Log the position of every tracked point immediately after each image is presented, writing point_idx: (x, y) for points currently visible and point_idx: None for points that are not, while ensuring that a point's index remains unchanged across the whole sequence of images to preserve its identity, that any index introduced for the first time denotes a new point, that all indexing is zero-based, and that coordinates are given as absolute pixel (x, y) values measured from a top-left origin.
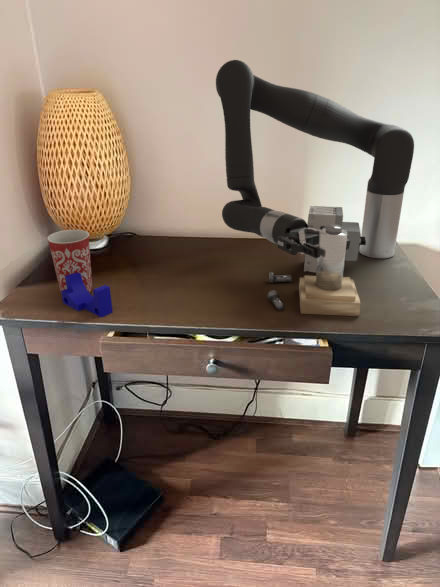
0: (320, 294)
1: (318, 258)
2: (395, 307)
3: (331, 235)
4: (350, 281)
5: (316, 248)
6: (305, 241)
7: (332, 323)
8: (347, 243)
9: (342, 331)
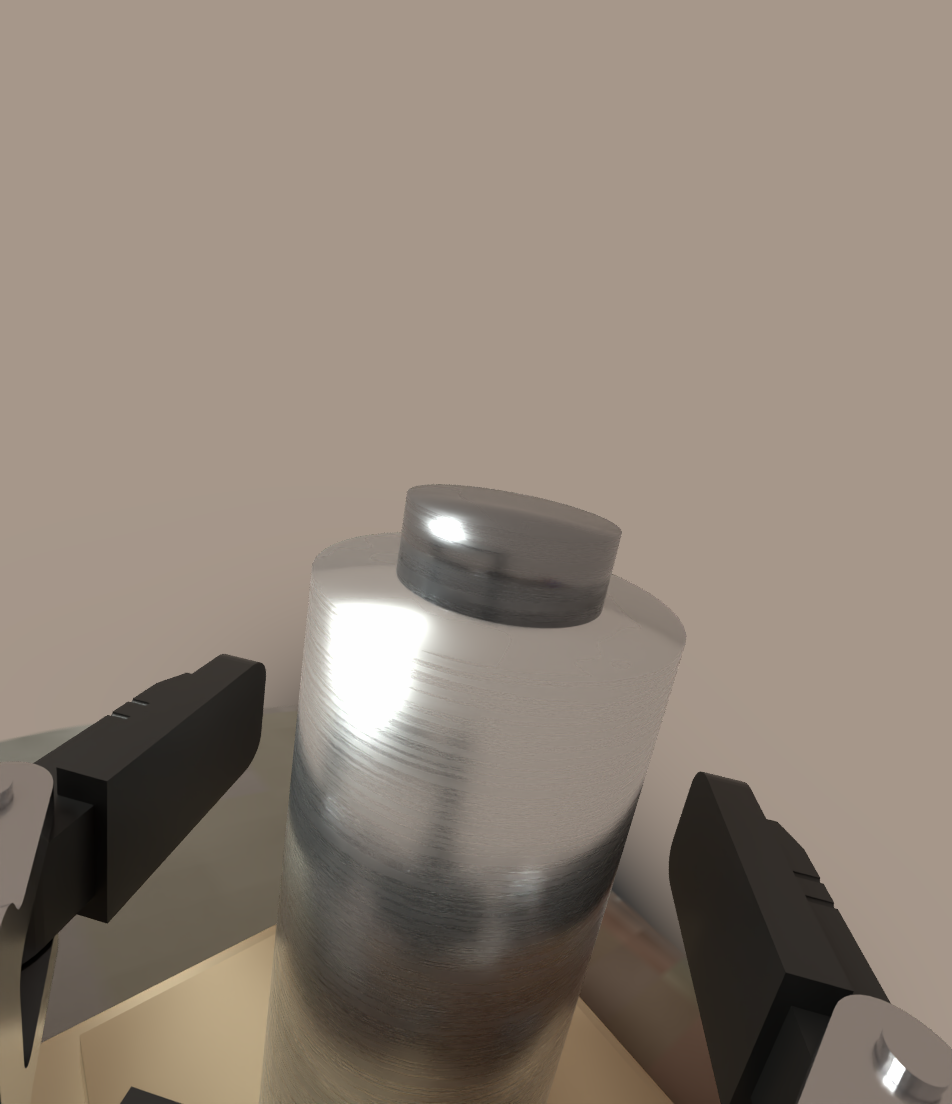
0: (604, 1054)
1: (583, 971)
2: (226, 812)
3: (612, 584)
4: (201, 976)
5: (749, 794)
6: (825, 1055)
7: (605, 980)
8: (262, 685)
9: (616, 903)
